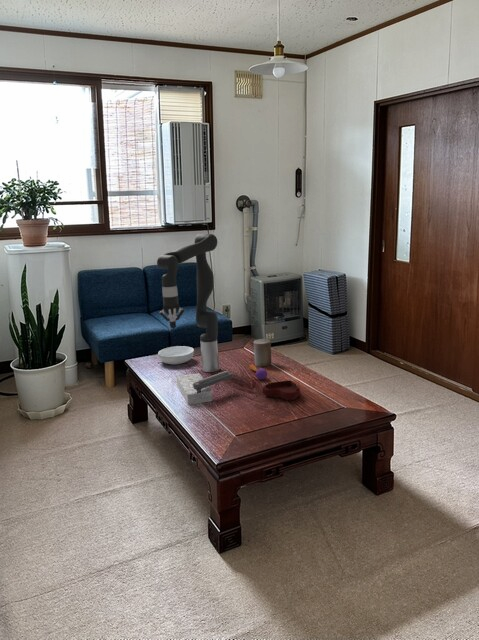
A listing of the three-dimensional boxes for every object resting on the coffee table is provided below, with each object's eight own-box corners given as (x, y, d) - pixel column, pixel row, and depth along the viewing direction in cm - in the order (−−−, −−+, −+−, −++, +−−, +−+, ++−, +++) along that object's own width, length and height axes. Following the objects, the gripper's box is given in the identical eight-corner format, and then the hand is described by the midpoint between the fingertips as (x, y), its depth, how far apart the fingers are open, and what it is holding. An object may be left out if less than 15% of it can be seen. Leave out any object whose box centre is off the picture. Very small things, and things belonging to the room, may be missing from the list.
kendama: (258, 362, 309) (269, 370, 290) (256, 372, 310) (267, 381, 291) (247, 361, 307) (258, 369, 288) (246, 371, 308) (257, 380, 289)
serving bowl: (184, 354, 342) (184, 343, 340) (200, 362, 324) (200, 351, 323) (153, 361, 331) (152, 350, 330) (168, 370, 314) (167, 358, 312)
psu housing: (199, 382, 293) (198, 369, 291) (212, 400, 267) (211, 387, 265) (177, 385, 290) (176, 373, 288) (188, 404, 264) (187, 391, 262)
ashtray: (307, 392, 273) (307, 382, 271) (293, 404, 259) (293, 394, 258) (275, 387, 282) (274, 377, 280) (259, 398, 268) (259, 388, 267)
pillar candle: (274, 362, 318) (273, 337, 315) (266, 367, 310) (265, 341, 307) (260, 360, 323) (258, 335, 320) (251, 365, 315) (250, 340, 312)
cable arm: (232, 377, 277) (232, 371, 276) (197, 390, 262) (197, 383, 261) (225, 375, 280) (225, 369, 280) (191, 387, 265) (190, 381, 265)
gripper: (181, 292, 284) (184, 325, 288) (155, 295, 280) (158, 328, 284) (184, 294, 277) (187, 328, 281) (158, 297, 273) (161, 331, 277)
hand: (173, 328), depth 283 cm, fingers closed
